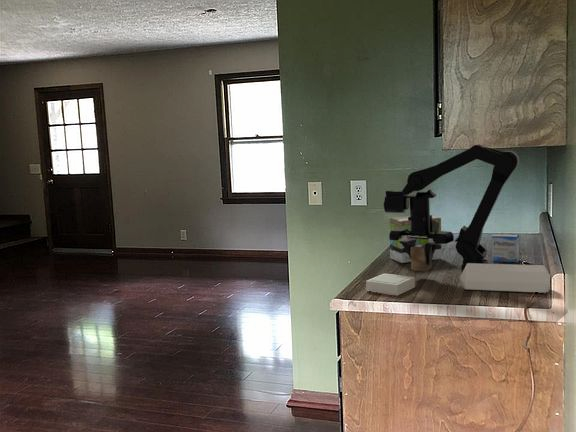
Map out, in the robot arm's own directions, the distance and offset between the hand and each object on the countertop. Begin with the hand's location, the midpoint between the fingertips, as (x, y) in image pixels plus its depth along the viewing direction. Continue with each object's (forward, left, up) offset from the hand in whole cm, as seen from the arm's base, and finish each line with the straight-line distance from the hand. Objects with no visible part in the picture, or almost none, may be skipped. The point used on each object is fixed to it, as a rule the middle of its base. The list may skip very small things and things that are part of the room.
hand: (421, 264), depth 180 cm
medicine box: (-13, -33, -5) cm, 36 cm away
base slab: (+2, +15, -4) cm, 16 cm away
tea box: (+15, -24, -5) cm, 29 cm away
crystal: (-25, +1, -5) cm, 26 cm away
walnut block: (0, 0, -2) cm, 2 cm away
